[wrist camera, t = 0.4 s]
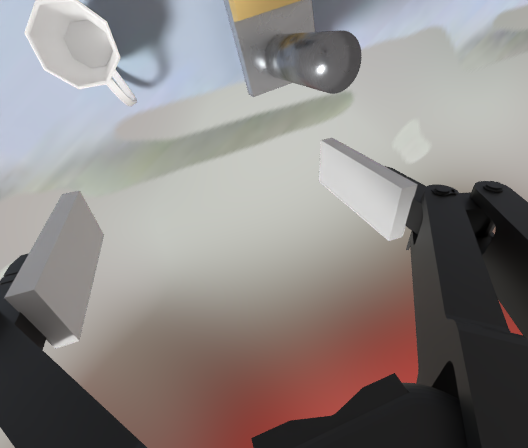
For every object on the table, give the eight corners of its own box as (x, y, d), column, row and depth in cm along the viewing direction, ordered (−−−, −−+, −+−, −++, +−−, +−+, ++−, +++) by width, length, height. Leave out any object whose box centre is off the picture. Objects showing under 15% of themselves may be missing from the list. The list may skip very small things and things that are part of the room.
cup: (88, -12, 28) (69, -28, 21) (158, 81, 34) (160, 91, 27) (35, 30, 28) (0, 27, 22) (114, 114, 34) (105, 131, 28)
